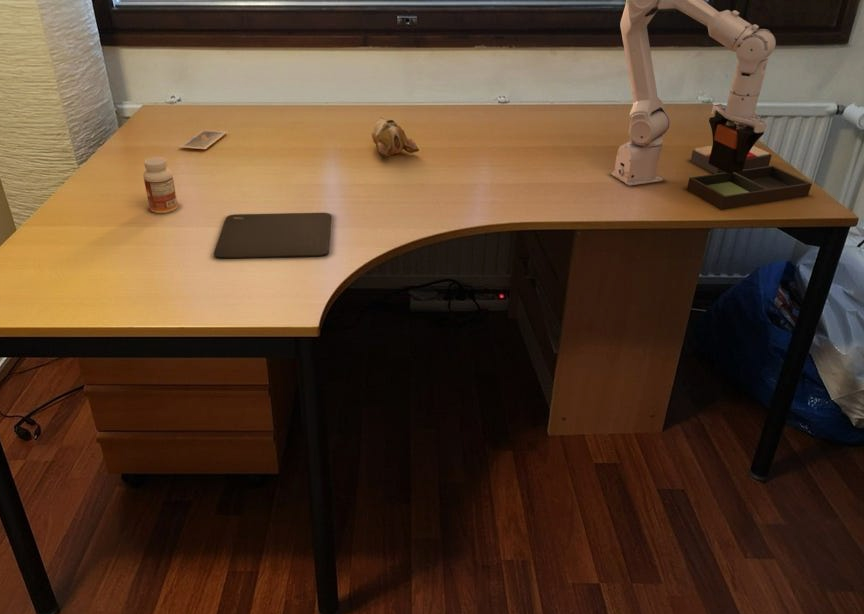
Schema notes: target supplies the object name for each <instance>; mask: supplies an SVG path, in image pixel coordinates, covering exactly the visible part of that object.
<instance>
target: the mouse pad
mask: <svg viewBox="0 0 864 614" xmlns="http://www.w3.org/2000/svg"><path fill="white" fill-rule="evenodd" d="M331 226H332V215H331V214H330V213H328V212H291V213H289V212H288V213H287V212H286V213H245V214H244V213H241V214H240V213H239V214H237V213H236V214H230V215H228V216H226V217H225V220H224V223H223V225H222V229H221V231H220V234H219V237H218V240H217V243H216V246H215V248H214V251H213V256H214V258H218V259H246V258H247V259H249V258H251V259H252V258H295V257H296V258H297V257H298V258H299V257H324V256H327V255H328V254H329V253H330V246H331V245H330V244H331V229H332V227H331Z"/></svg>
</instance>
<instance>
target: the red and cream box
mask: <svg viewBox="0 0 864 614" xmlns="http://www.w3.org/2000/svg"><path fill="white" fill-rule="evenodd" d="M712 146H713V145H706V146H701V147H696V148H694V149H692V152H691V157H690V162H691V163H693V164H694V165H696V166H698V167H700V168H701V169H704V170H706V171H707V172H710V173H711V174H718V173H725V172H724V171H722V170H720V169H718V168H716V167H714V166H712V165H710V164H709V163H708V162H709V158H710V154H711V150H712ZM771 159H772V154H771V153H770V152H768V151H766V150H764V149H761V148H760V147H757V146H755V145H753V147H752V148H751V150H750V152H749V153H748V155H747V157H746V161H745V165H744V168H743V170H745V169H752V168H759V167H766V166H770V163H771Z"/></svg>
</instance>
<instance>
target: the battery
mask: <svg viewBox="0 0 864 614" xmlns="http://www.w3.org/2000/svg"><path fill="white" fill-rule="evenodd" d="M745 128H746V127H745V126H743V125H740V124H738V123H736V122H733V121H727V123H725V124H719V125H717V129H716V133H715V137H714V142H713V141H712V145H711V146H712V150H711V154H710V158H709V162H708V163H709V164H710V165H712V166H714V167H716V168H718V169H720V170H722V171H724V172H726V173H733V172H740V171H743V168H744V165H745V161H746V159H745V160H744V161H739V162H737V161H735V155H736V149H737V129H745Z"/></svg>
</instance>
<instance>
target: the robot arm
mask: <svg viewBox="0 0 864 614" xmlns="http://www.w3.org/2000/svg"><path fill="white" fill-rule="evenodd" d="M667 9H676V10H678V11H679V12H681V13H683V14H685V15H687V16H689V17H690V18H692V19H693V20H695V21H697V22H699V23H700V24H702V25H704V26H705V27H707V31H708V36H709V37H710V38H712V39H713V40H715V41H717V42H718V43H720V45H723V46H724V47H726V48H727V49H728V50H730V51H732V52H733V53H735V54H736V58H737V60H738V61H737V64H736V68H735V70H734V75H733V79H732V83H731V86H730V91H729V95H728V99H727V103H726V105H725V104H721V103H717V104H713V105H712V110H711V114H712V115H714V116H711V117H709V118H708V123H709V125H710V129H711V134H712V135H711V136H712V143H713V142H714V137H715V133H716V129H717V125H719V124H725V123H727V121H733V122H734V123H735V124H740V125H743V126H745V127H746V128H745V129H737V149H736V155H735V161H737V162H739V161H744V160H745V159H746V157H747V155H748V153H749V152H750V150H751V148H752V147H753V146H755V144H756V143H757V142H758V140H760V138H762V136H764V134H765V132H766V128H767V125H768V122H765V121H764V120H762V119H761V118H760V117H759V116H757V114H758V112H756V108H757V105H758V101H759V97H760V93H761V89H762V87H763V82H764V80H765V79H764V78H765V75H766V69H767V65H768V61H769V57H770V56H771V55H772V54H773V53H774V51H775V49H776V46H777V45H776V44H777V41H776V37H775V36H774V34H773V33H772V32H771V31H770V30H769V29H765V28H760V26H759V25H757V24H756V23H754V24H752V23H750V22H748V21H747V20H745V19H743V18H742V17H740V12H739V11H737V10H736V9H735V10H732V11H731V10H730V9H725V10H723V11H718V10H717V9H716V8H714V7H713V6H711V5H710V4H709V3H707V2H706V1H705V0H625V5H624V9H623V13H622V16H621V18H620V19H621V20H620V31H621V37H622V38H621V39H622V44H623V50H624V55H625V61H626V68H627V73H628V79H629V86H630V91H631V96H632V97H631V98H632V103H633V104H632V107H631V110H630V112H629V126H628V132H627V133H628V137H629V139H630V140H629V141H628V142H626V143H624V144H621V145H620V146H619V147H618V149H617V152H616V158H615V163H614V169H613V171H612V172H611V175H612V176H613V177H615V178H616V179H618V180H619V181H621V182H622V183H624V184H626V185H627V186H630V187H633V186H639V185H644V184H652V183H659V182H663V181H664V178H662V177H661V176H659V175H657V171H658V166H659V161H660V157H661V152H662V148H663V147H662V146H663V143H664V140H663V135H664V134H666V133H667V131H668V130H669V129H670V126H671V118H670V116H669V114H668V113H667V111H666V109H665V106H664V105H665V104H664V102H663V101H662V100H661V98H659V96H658V91H657V90H658V89H657V84H656V77H655V72H654V63H653V59H652V52H651V46H650V39H649V33H648V25H649V23H650V22H651V20H652V19H653V18H654V16H655V15H656V14H657V12H658V11H660V10H667Z"/></svg>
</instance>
